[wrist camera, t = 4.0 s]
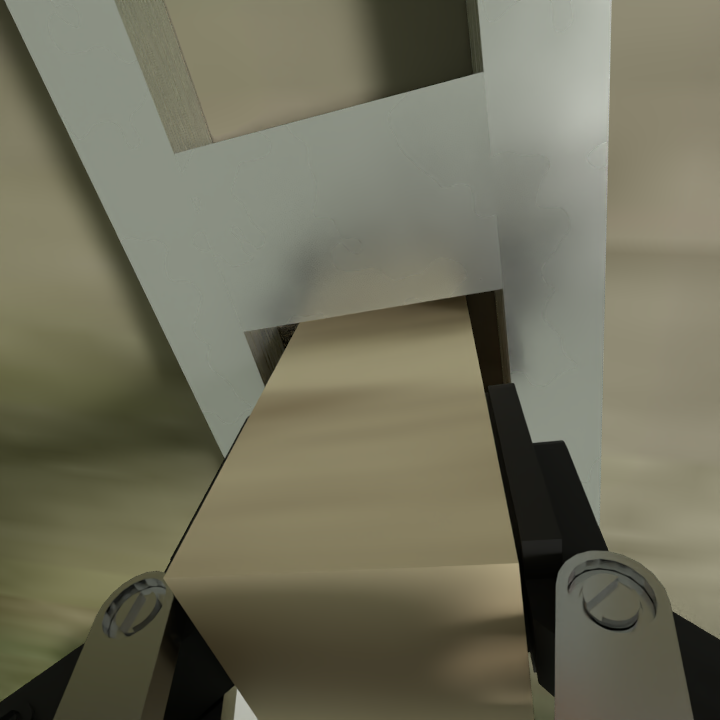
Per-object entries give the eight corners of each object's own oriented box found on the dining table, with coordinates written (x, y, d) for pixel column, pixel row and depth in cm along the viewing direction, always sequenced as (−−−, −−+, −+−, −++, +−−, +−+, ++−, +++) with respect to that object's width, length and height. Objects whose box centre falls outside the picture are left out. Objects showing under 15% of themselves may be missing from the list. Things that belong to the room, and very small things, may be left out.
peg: (482, 428, 14) (537, 750, 7) (340, 443, 15) (271, 739, 8) (464, 292, 12) (517, 563, 5) (301, 319, 13) (163, 578, 6)
